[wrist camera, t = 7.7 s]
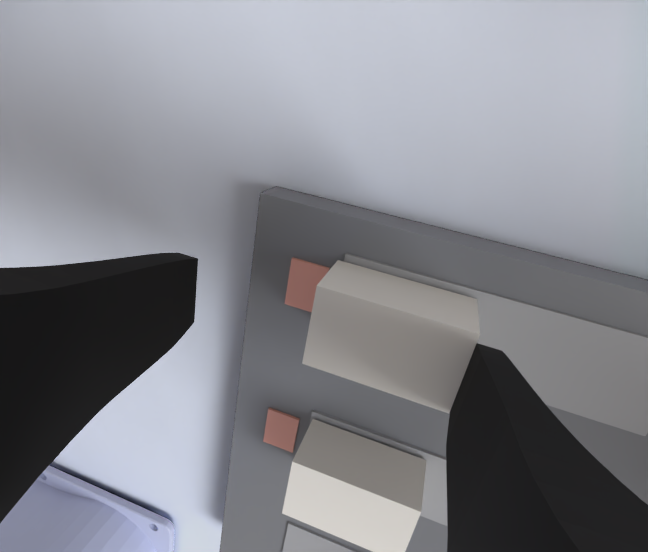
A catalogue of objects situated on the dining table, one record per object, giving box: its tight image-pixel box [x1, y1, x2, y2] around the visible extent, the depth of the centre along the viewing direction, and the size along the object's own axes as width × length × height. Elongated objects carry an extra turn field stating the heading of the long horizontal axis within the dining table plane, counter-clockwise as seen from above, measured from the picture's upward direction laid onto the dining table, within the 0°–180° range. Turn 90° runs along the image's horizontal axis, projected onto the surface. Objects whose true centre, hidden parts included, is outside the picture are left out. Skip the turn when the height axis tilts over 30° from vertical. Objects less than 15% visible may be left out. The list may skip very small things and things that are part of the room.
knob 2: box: [282, 419, 426, 552], centre depth 14 cm, size 4×2×2 cm, turn 80°
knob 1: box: [302, 260, 480, 413], centre depth 11 cm, size 4×2×2 cm, turn 80°
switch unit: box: [220, 187, 648, 552], centre depth 15 cm, size 15×17×1 cm
